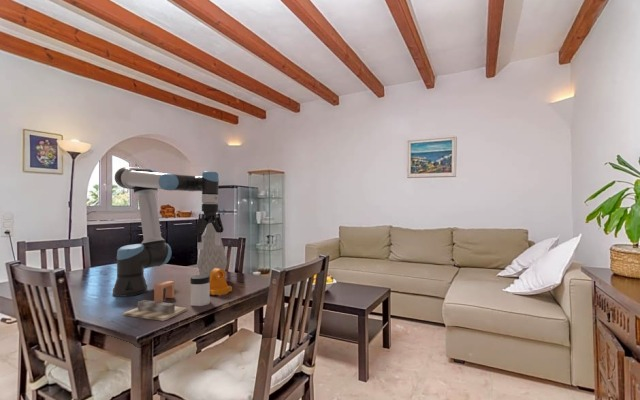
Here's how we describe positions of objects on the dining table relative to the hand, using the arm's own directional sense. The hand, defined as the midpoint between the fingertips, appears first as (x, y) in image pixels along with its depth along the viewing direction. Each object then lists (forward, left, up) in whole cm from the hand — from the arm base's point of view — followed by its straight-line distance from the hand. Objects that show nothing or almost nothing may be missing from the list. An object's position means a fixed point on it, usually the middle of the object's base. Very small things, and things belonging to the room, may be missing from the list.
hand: (209, 247), depth 160 cm
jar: (+4, -12, -24) cm, 27 cm away
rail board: (-5, -28, -23) cm, 37 cm away
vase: (-16, +24, -24) cm, 37 cm away
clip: (-16, -12, -23) cm, 31 cm away
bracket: (+2, +5, -24) cm, 24 cm away
